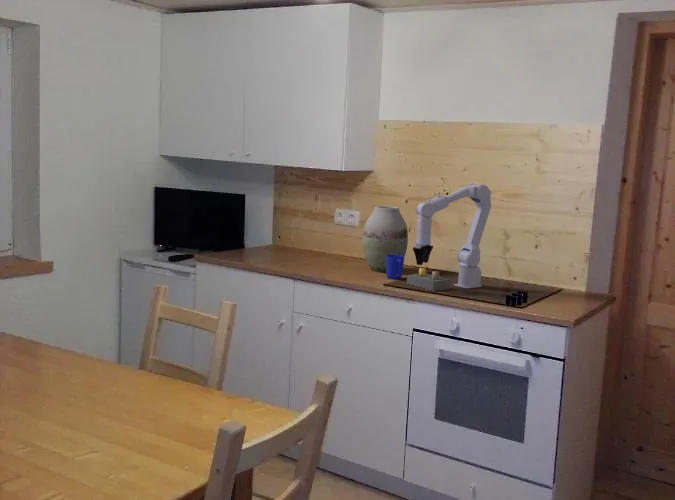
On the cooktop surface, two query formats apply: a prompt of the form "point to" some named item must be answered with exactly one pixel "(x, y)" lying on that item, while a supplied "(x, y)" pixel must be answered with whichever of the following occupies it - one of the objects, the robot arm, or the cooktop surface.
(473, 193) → the robot arm
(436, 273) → the birch peg
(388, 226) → the vase
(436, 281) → the block
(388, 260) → the mug
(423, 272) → the mustard peg
